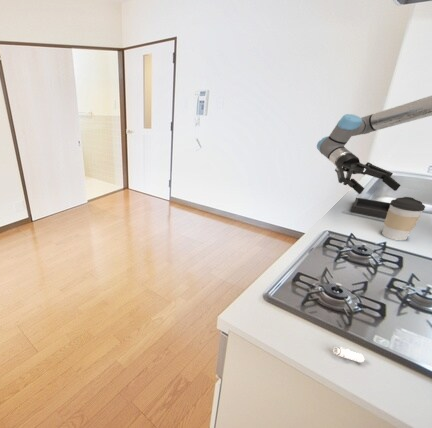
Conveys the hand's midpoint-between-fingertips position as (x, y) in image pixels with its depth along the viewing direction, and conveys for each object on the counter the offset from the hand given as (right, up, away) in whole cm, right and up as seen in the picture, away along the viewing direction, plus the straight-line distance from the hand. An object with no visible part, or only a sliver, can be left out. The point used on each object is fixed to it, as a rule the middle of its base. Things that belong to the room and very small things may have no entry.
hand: (379, 189), depth 108 cm
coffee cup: (+5, -18, -1) cm, 19 cm away
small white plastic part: (-51, -42, -46) cm, 81 cm away
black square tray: (+14, -8, +19) cm, 25 cm away
